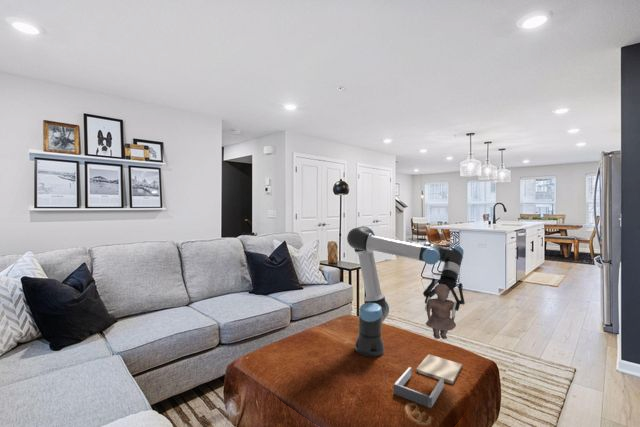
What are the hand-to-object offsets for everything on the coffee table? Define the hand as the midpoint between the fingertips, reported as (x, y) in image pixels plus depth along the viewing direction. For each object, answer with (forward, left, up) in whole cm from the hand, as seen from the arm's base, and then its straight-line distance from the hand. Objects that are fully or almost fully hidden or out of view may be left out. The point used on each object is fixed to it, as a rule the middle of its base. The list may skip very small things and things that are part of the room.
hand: (439, 313), depth 145 cm
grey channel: (-2, -18, -28) cm, 33 cm away
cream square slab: (0, +4, -28) cm, 28 cm away
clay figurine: (0, +3, -12) cm, 13 cm away
